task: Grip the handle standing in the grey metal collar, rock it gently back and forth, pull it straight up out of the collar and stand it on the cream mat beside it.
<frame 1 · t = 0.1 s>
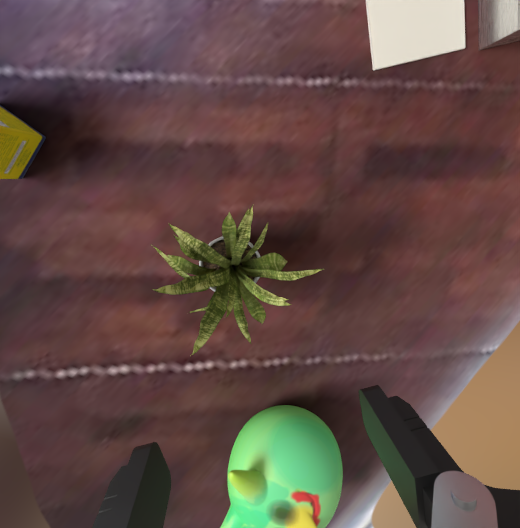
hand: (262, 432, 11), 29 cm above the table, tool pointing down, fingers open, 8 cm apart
mat: (414, 4, 33), on the table
house plant: (238, 245, 39), on the table
toy bird: (273, 429, 48), on the table
supplement box: (11, 142, 34), on the table
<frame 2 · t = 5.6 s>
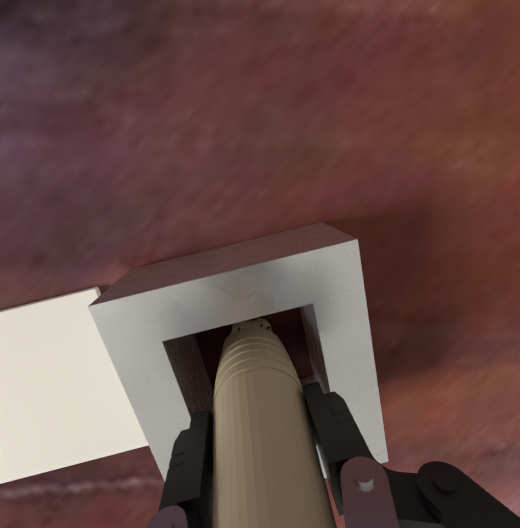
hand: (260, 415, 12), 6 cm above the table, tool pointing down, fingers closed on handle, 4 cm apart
mat: (43, 390, 18), on the table
collar: (251, 338, 18), on the table
handle: (251, 336, 19), resting in collar, touching gripper
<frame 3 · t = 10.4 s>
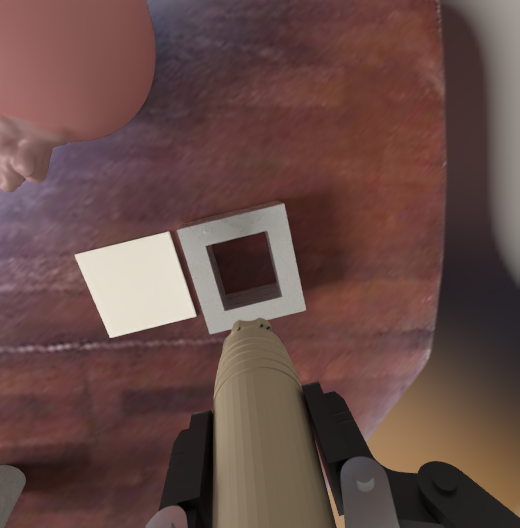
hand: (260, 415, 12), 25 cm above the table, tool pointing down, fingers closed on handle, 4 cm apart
mat: (139, 285, 36), on the table
house plant: (12, 471, 42), on the table
balloon: (88, 92, 30), on the table
collar: (243, 260, 36), on the table
handle: (251, 336, 19), point 18 cm above the table, touching gripper
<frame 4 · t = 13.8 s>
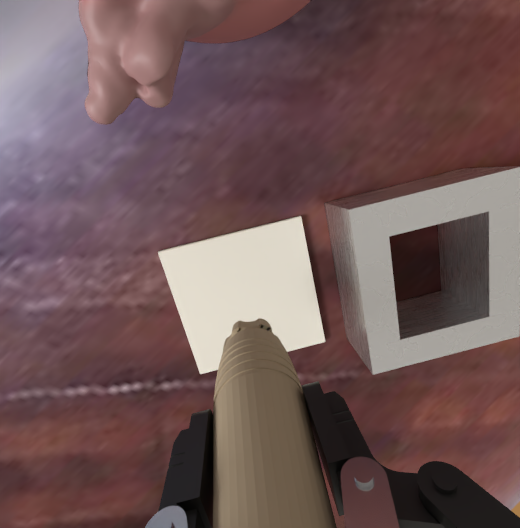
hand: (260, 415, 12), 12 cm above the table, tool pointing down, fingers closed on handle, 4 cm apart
mat: (247, 298, 24), on the table
collar: (401, 259, 24), on the table
handle: (251, 337, 18), point 6 cm above the table, touching gripper
when the fingers open (8 cm above the table, at t = 15.5 s): handle drops 1 cm, resting on mat.
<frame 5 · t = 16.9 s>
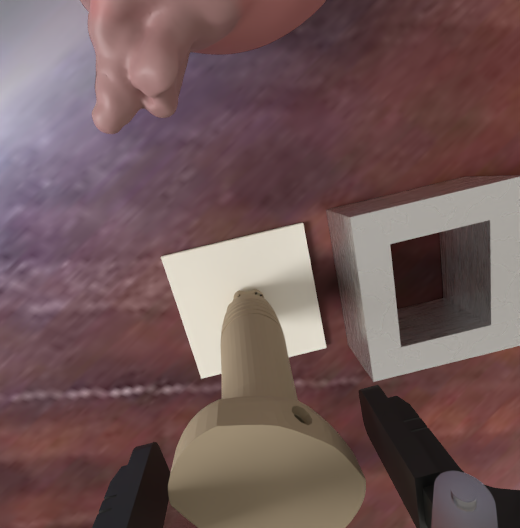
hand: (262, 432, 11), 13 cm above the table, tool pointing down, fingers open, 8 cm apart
mat: (249, 303, 24), on the table
collar: (402, 266, 24), on the table
handle: (248, 304, 24), resting on mat
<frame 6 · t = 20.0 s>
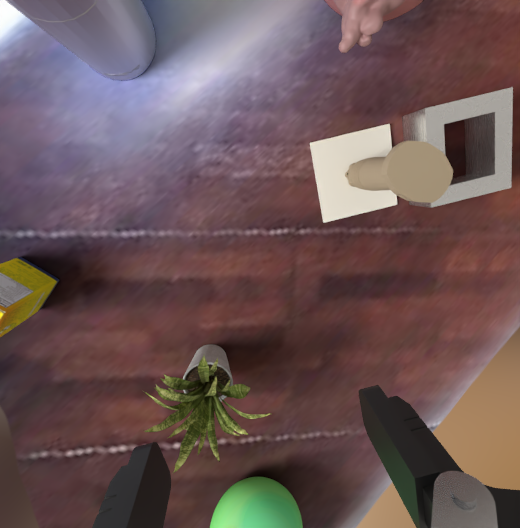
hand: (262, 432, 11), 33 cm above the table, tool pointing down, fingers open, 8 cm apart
mat: (354, 174, 42), on the table
house plant: (216, 352, 48), on the table
toy bird: (250, 492, 57), on the table
collar: (443, 153, 42), on the table
supplement box: (31, 283, 42), on the table
handle: (354, 174, 42), resting on mat
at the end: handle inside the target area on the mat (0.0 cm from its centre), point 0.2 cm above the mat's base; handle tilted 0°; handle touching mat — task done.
